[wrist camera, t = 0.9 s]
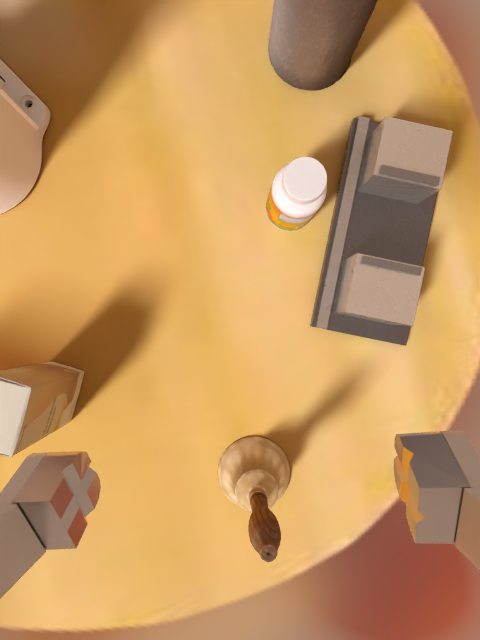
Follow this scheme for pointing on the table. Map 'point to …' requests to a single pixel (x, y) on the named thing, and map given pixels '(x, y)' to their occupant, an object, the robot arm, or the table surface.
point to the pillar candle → (316, 39)
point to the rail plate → (381, 228)
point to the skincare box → (35, 403)
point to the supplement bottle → (296, 193)
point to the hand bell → (256, 487)
